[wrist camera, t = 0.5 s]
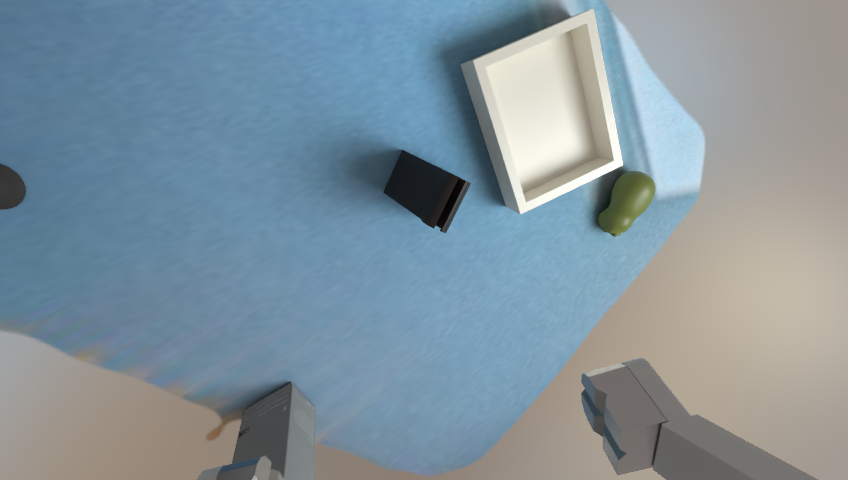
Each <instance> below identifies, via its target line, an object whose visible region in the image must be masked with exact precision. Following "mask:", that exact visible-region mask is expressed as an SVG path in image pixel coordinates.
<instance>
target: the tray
mask: <svg viewBox="0 0 848 480" xmlns="http://www.w3.org/2000/svg"><path fill="white" fill-rule="evenodd" d="M460 66H461V69H462V72H463V75H464V78H465V81H466V84H467V87H468V90H469V94H470V97H471V100H472V103H473V106H474V109H475V112H476V115H477V118H478V121H479V125H480V128H481V131H482V134H483V137H484V140H485V143H486V146H487V149H488V152H489V155H490V159H491V162H492V165H493V168H494V171H495V174H496V177H497V180H498V183H499V186H500V190H501V193H502V196H503V199H504V202H505V205H506V207H508V208H510V209H511V210H513V211H515V212H517V213H519V214H523V213H525V212H527V211H529V210H531V209H533V208H535V207H537V206H539V205H541V204H543V203H545V202H548V201H550V200H552V199H554V198H556V197H558V196H560V195H562V194H564V193H566V192H568V191H570V190H573V189H575V188H577V187H579V186H581V185H583V184H585V183H587V182H589V181H591V180H593V179H596V178H598V177H600V176H602V175H604V174H606V173H608V172H610V171H612V170H614V169H616V168H618V167H621V166H623V161H622V156H621V151H620V146H619V140H618V135H617V130H616V124H615V119H614V114H613V109H612V103H611V98H610V93H609V87H608V82H607V77H606V72H605V66H604V61H603V56H602V50H601V45H600V40H599V35H598V29H597V24H596V19H595V13H594V9H591V10H588V11H585V12H583V13H580V14H577V15H574V16H572V17H569V18H567V19H565V20H562V21H560V22H558V23H555V24H553V25H551V26H548V27H546V28H544V29H541V30H539V31H537V32H534V33H532V34H530V35H527V36H525V37H523V38H520V39H518V40H516V41H514V42H511V43H509V44H507V45H504V46H502V47H500V48H497V49H495V50H493V51H490V52H488V53H486V54H483V55H481V56H479V57H476V58H474V59H472V60H469V61H467V62H465V63H462V64H460Z"/></svg>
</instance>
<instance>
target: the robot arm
mask: <svg viewBox="0 0 848 480" xmlns="http://www.w3.org/2000/svg"><path fill="white" fill-rule="evenodd" d="M582 384H583V386H584V387H585V390H584V391H583V392H582V393H581V395H582V404H583V408H584V412H585V414H586V416H587V419H588V421H589V423H590V425H591V427H592V429H593V431H595V432H596V433H598V434H600V435H601V436H602V437H603V449H604V451H605V453H606V455H607V457H608V459H609V460H610V462H611V464H612V466H613V468H614V470H615V471H616V473H617V475H621V474H625V473H629V472H634V471H638V470H643V469H647V468H651V467H653V470H654V471H656V472H657V473H658V474H660V475H661V476H662V477H664V478H665V479H666V480H818V479H816V478H814V477H812V476H810V475H808V474H806V473H805V472H803V471H801V470H799V469H797V468H795V467H793V466H792V465H790V464H788V463H786V462H784V461H782V460H781V459H779V458H777V457H775V456H773V455H771V454H769V453H768V452H765V451H764V450H762V449H760V448H758V447H756V446H754V445H753V444H751V443H749V442H747V441H745V440H743V439H742V438H740V437H738V436H736V435H734V434H732V433H731V432H729V431H727V430H725V429H723V428H721V427H719V426H717V425H716V424H714V423H712V422H710V421H708V420H706V419H704V418H703V417H701V416H699V415H693V416H691V415H690V414H689V413H688V412H687V410H686V409H685V408H684V406H683V405H682V404H681V403H680V402H679V400H678V399H677V398H676V396H675V395H674V394H673V393H672V391H671V390H670V389H669V388H668V386H667V385H666V384H665V383H664V381H663V380H662V379H661V378H660V376H659V375H658V374H657V373H656V371H655V370H654V369H653V368H652V366H651V365H650V364H649V363H648V362H647V361H646V360H645V359H643V358H638V359H634V360H631V361H627V362H624V363H618V364H614V365H611V366H607V367H603V368H600V369H596V370H593V371H589V372H585V373H583V375H582ZM271 463H272V462H271V461H270V460H269V459H268V458H267V456H266V455H265V456H261V457H257V458H253V459H249V460H245V461H241V462H237V463H233V464H230V465H225V466H220V467H216V468H213V469H209V470H205V471H203V472H202V473H201V475H200V476H199V477H198V479H197V480H284V478H283V476H282V475H281V473H280V472H279V471H276V470H273V469H270V468H271Z"/></svg>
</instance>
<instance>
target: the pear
mask: <svg viewBox="0 0 848 480" xmlns="http://www.w3.org/2000/svg"><path fill="white" fill-rule="evenodd" d="M654 194H655V183H654V181H653V180H652V178H651V177H650V176H648V175H647V174H645V173H642V172H639V171H630V172H627V173H624V174H623V175H621V176H620V177H619V178H618V179H617V181H616V182H615V185H614V187H613V190H612V194H611V202H610V205H609V207H608V208H607V209H605V210H604V211H602V212H601V213H600V214H599V219H598V223H599V225H600V226H601V227H602V229H603V231H605V232H608V233H610V234H611V235H612V236H614V237H615V236H617V235H618V236H619V235H620V234H621V233H622V232H625V231H627V230H628V229H629V228H630V227H631V225H632V223H633V221H634V220H635V219H636V218H637V217H638V216H639V215H641V214H642V213H643V212H644V211H645V210H646V209H647V208H648V206H649V205H650V203H651V201H652V199H653V197H654Z"/></svg>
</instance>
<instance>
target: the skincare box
mask: <svg viewBox="0 0 848 480" xmlns="http://www.w3.org/2000/svg"><path fill="white" fill-rule="evenodd" d="M315 412H316V410H315V408H314V407H313V406H312V405H311V403H310V402H309V401H308V400H307V399H306V398H305V397H304V396H303V395H302V393H301V392H300V391H299V390H298V389H297V388H296V387H295V385H294V384H293V383H292V382H291V383H289V384H288V385H286V386H285V387H283V388H281V389H279V390H277V391H276V392H274V393H272V394H270V395H268V396H267V397H265V398H263V399H262V400H260V401H258V402H257V403H255V404H253V405H252V406H250V407H249V408H247V409H246V410H245V411H244V414H243V418H242V422H241V427H240V431H239V435H238V439H237V444H236V448H235V453H234V457H233V461H232V464H233V463H237V462H241V461H245V460H249V459H253V458H257V457H261V456H265V455H266V456H267V458H268V459H269V460H270V461H271V462H272V463H271V468H270V469H273V470H276V471H279V472H280V473H281V475H282V476H283V478H284V480H315Z"/></svg>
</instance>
